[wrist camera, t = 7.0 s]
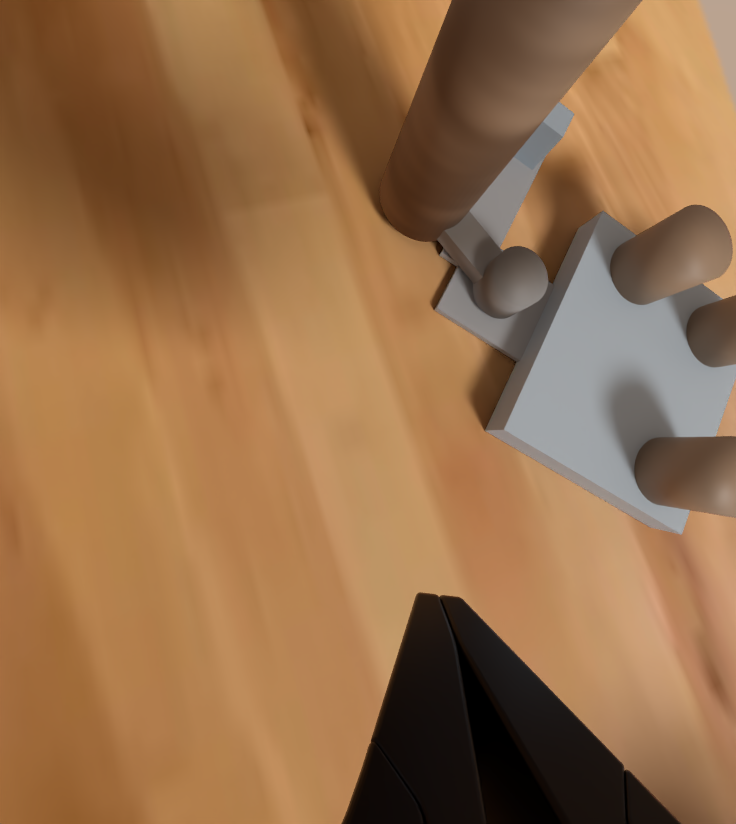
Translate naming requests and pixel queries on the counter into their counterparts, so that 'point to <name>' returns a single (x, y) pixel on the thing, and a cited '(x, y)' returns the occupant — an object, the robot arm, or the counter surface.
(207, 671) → the counter surface
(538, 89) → the tall brown cylinder
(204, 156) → the counter surface
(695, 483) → the grey flat piece
